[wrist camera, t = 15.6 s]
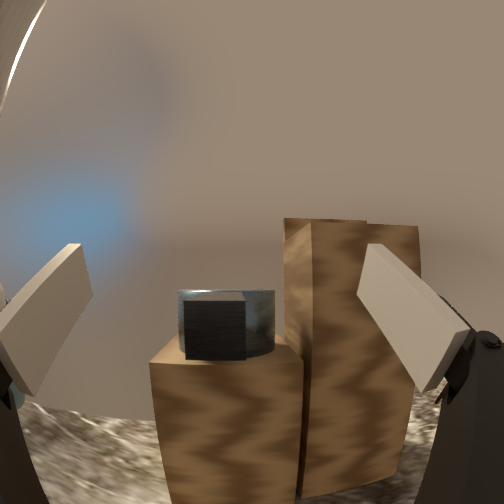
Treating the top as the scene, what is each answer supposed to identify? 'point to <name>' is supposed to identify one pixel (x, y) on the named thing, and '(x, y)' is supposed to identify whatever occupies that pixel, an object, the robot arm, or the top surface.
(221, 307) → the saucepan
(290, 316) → the pine stand
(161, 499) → the top surface
